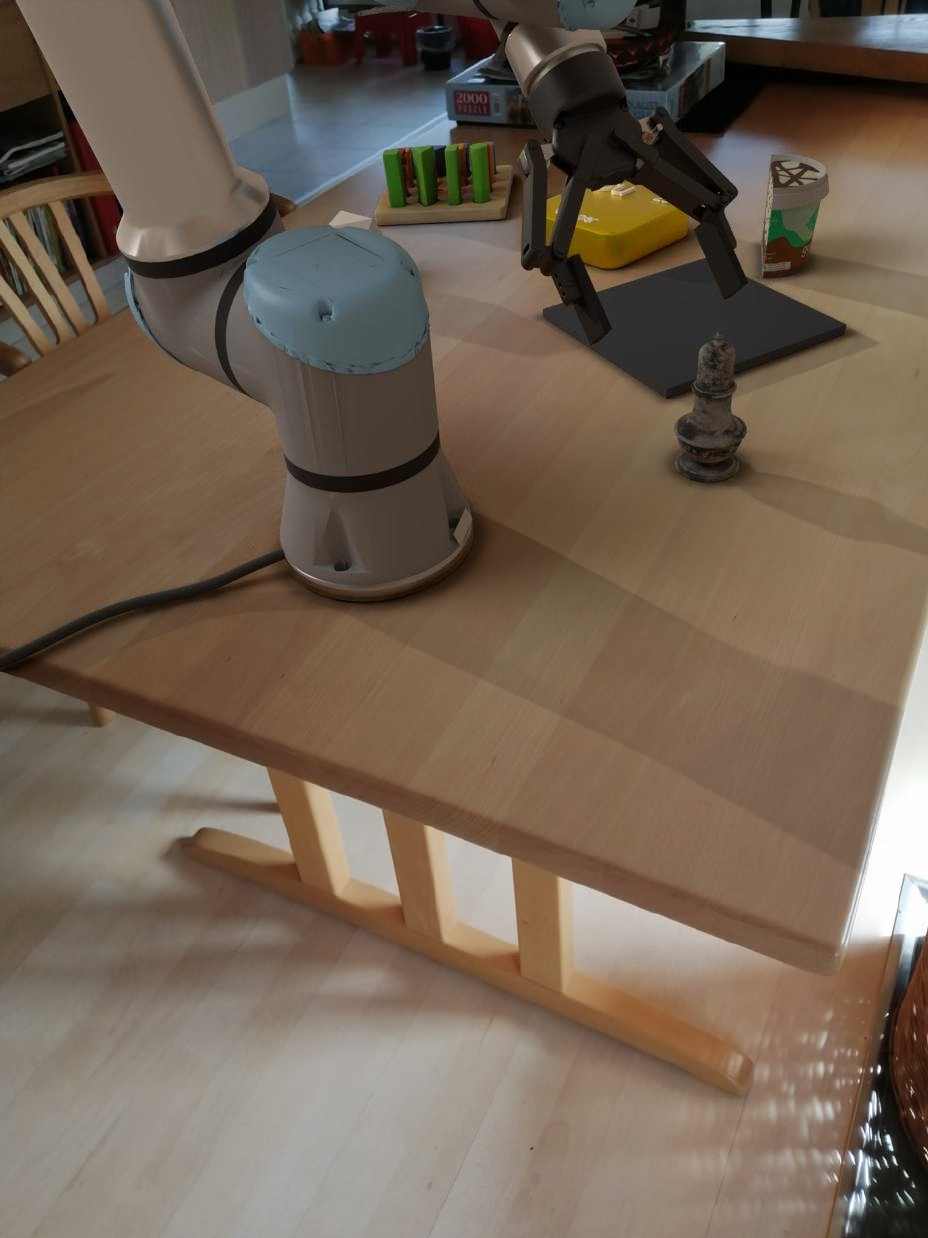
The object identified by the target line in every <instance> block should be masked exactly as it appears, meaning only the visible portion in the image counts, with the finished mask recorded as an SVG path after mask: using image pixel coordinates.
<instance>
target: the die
mask: <svg viewBox="0 0 928 1238" xmlns="http://www.w3.org/2000/svg"><path fill="white" fill-rule="evenodd" d="M328 225H331V226H332V227H333V228H336V229H339V228H343V227H345V226H353V227H359V228H364V229H367V230H371V231H374V232H377V233H379V234H382V235H383V233H382V230H381V229H380V227H379V225H377V224H376V222H375V221H374V219H373V218H371V217H367V216H364V215H360V214H356V213H352V212H349V211H345V210H341V209H340V210H339V212H338V213H337V214H336V215H335V216H334V218H333V219H332V220H331V221H330V222H329V223H328Z"/></svg>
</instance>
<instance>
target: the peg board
mask: <svg viewBox="0 0 928 1238" xmlns="http://www.w3.org/2000/svg"><path fill="white" fill-rule="evenodd" d="M496 157H497V156H496V146H495V142H493V141H483V142H477V143H473V144H471V145H470V146H469V143H468V142H461V143H460V142H459V143H454V144H447V145H446V144H440V145H439V144H436V145H435V144H434V145H432V144H431V145H429V144H428V145H423V146H421V145H420V146H408V147H396V148H390V149H385V150H383V152H382V161H383V168H384V174H385V179H386V187H385V189H384V191H383V193H382V195H381V198H380V200H379V201H378V204H377V206H376V208H375V210H374V220H375V221H374V222H375V224H376V225H377V226H391V225H407V224H408V225H411V224H412V225H414V224H433V223H435V224H436V223H451V222H452V223H453V222H471V221H472V222H473V221H490V220H491V221H492V220H493V221H494V220H503V219H505V218H506V216H507V211H508V205H509V200H510V195H511V189H512V185H513V179H514V166H513V165H511V164H503V165H497V158H496Z"/></svg>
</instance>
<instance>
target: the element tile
mask: <svg viewBox="0 0 928 1238" xmlns="http://www.w3.org/2000/svg"><path fill="white" fill-rule="evenodd" d="M561 194H562V192H560V194H556V195H555V196H552V197H549V198H547V216H546V246H548V244H549V241H550V237H551V234H552V230H553V227H554V223H555V220H556V216H557V213H558V209H559V206H560V202H561ZM689 219H690V216H688V215H687V214H685V213H684V212H682V211H681V210H679V209H678V208H676V207H675V206H673V205H671V204H670V203H668V202H667V201H665V200H664V199H662V198H661V197H659V196H658V195H656V194H655V193H653V192H651V191H650V190H648V189H647V188H645V187H644V186H642V185H633V184H631V183H630V182H628V181H627V180H624V182H623V183H621V184H618V185H606V186H604V187H603V188H601V189H600V190H596V191H593V192H591V190H590V189H587V188H586V191H585V195H584V198H583V202H582V206H581V209H580V213H579V216H578V220H577V223H576V227H575V231H574V234H573V238H572V241H571V245H570V248H569V252H568V255H567V257H568V259H569V258H570V257H571V256H572V255H576V254H580V256H581V259H582V261H583V263H584V264H586V265H589V266H592V267H596V268H600V269H604V270H615V269H620V268H623V267H625V266H627V265H629V264H631V263H634V262H636V261H638V260H640V259H642V258H644V257H646V256H648V255H650V254H652V253H654V252H657V251H658V250H661V249H663V248H665V247H667V246H669V245H672V244H673V243H675V242H677V241H680V240H682V239H684V238H685V237H686V236H687V235H688V233H689V221H690V220H689Z"/></svg>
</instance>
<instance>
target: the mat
mask: <svg viewBox="0 0 928 1238" xmlns="http://www.w3.org/2000/svg"><path fill="white" fill-rule="evenodd" d="M746 278H747V281H748V284H747V285H745V286H744V287H743V288H742V289H741V290H739V291H738V292H737V293H736V294H735V295H733V296H732V297H731V298H728V299H725V300H724V298H723V296H722V294H721V292H720V289H719V287H718V285H717V282H716V280H715V278H714V276H713V273H712V271H711V269H710V267H709V264H708V262H707V260H706V257H703V258H700V259H697V260H694V261H691V262H687V263H684V264H680V265H678V266H674V267H672V268H668V269H665V270H663V271H659V272H656V273H652V274H649V275H646V276H643V277H640V278H637V279H633V280H630V281H627V282H624V283H621V284H618V285H615V286H611V287H608V288H605V289H602V290H598V291H596V293H597V295H598V297H599V300H600V302H601V304H602V307H603V309H604V311H605V314H606V316H607V318H608V320H609V323H610V325H611V327H612V330H611V331H610V332H609V333H608V334H607V335H606V336H605V337H604V338H603V339H602V340H600V341H599V342H598V343H596V344H593V345H590V343H589V341H588V339H587V336H586V334H585V332H584V329H583V327H582V325H581V323H580V320H579V318H578V316H577V313H576V311H575V309H574V306H573V305H571V306H568V307H567V306H566V305H565V304H564V303H563V302H561V303H557V304H554V305H551V306H547V307H544V308H542V318H543V319H545V320H546V321H548V322H549V323H551V324H552V325H554V326H556V327H557V328H559V329H560V330H562V331H563V332H564V333H566V334H568V335H569V336H571V337H572V338H574V339H576V340H577V341H578V342H580V343H581V344H582V345H584V346H585V347H587V348H588V349H590V350H592V351H593V352H594V353H597V354H598V355H600V356H601V357H603V358H604V359H606V360H607V361H608V362H610V363H612V364H613V365H614V366H616V367H618V368H619V369H621V370H622V371H624V372H625V373H627V374H628V375H630V376H631V377H633V378H634V379H636V380H637V381H639V382H641V383H642V384H644V385H645V386H646V387H648V388H650V389H651V390H652V391H654V392H656V393H657V394H659V395H660V396H662V397H663V398H665V399H669V398H671V397H674V396H677V395H680V394H683V393H686V392H688V391H691V390H692V388H691V386H692V383H693V381H695V380H696V379H697V371H698V358H699V351H700V349H701V347H702V346H703V345H704V344H706V343H708V342H710V341H714V340H716V339H715V338H714V336H715V335H716V334H717V333H718V332H720V333H721V334H722V336H723V338H722V339H721V340H723V341H726V342H728V343H730V344H731V345H732V346H733V348H734V349H735V364H734V374H737V373H740V372H743V371H746V370H749V369H752V368H754V367H757V366H760V365H762V364H765V363H768V362H771V361H773V360H777V359H779V358H782V357H784V356H787V355H790V354H793V353H795V352H799V351H801V350H804V349H806V348H808V347H812V346H814V345H817V344H821V343H823V342H826V341H828V340H831V339H833V338H837V337H840V336H842V335H845V334H846V331H847V323H845V322H842V321H840V320H838V319H836V318H834V317H832V316H830V315H828V314H826V313H824V312H821V311H819V310H817V309H815V308H813V307H811V306H809V305H807V304H805V303H803V302H800V301H798V300H796V299H794V298H792V297H790V296H788V295H786V294H784V293H782V292H780V291H777V290H776V289H773V288H771V287H769V286H767V285H765V284H763V283H760V282H759V281H756V280H754V279H753V278H751V277H748V276H746ZM734 374H733V375H734Z"/></svg>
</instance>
